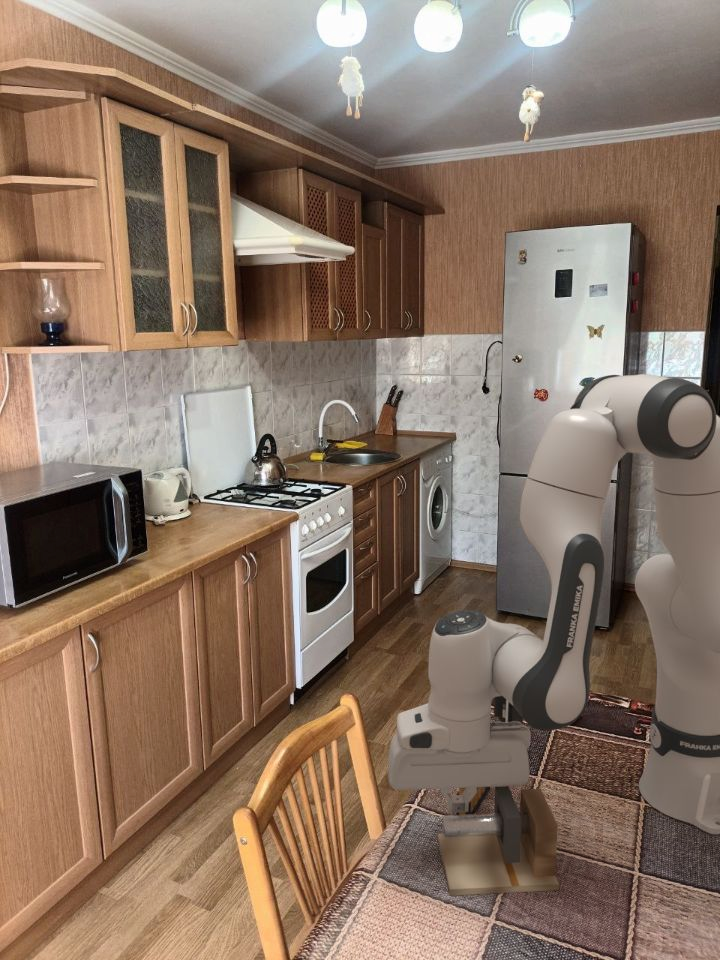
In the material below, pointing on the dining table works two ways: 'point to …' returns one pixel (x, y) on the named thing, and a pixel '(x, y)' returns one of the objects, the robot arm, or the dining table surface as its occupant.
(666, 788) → the robot arm
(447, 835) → the steel pipe
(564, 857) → the dining table surface
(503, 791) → the collar
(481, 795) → the ammunition clip
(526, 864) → the pipe stand
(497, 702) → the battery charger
